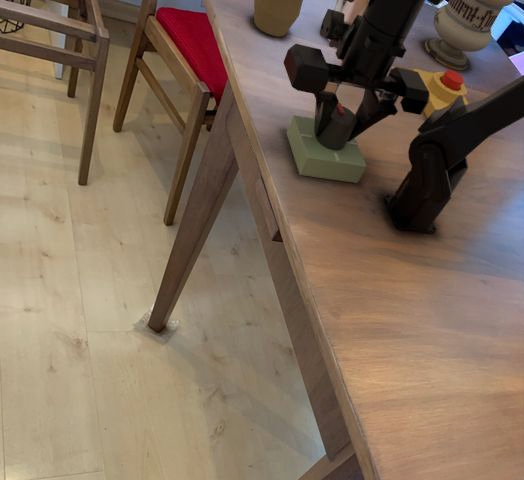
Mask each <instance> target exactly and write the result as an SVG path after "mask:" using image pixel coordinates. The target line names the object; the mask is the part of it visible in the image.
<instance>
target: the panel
mask: <svg viewBox="0 0 524 480" xmlns="http://www.w3.org/2000/svg"><path fill="white" fill-rule="evenodd" d="M314 122H315V118H311V117H306V116H302V115H301V116H300V115H295V114H293V115H292V117H291V120H290V123H289V124H288V128H287V130H286V136H287V140H288V143H289V146H290V149H291V152H292V155H293V158H294V162H295V164H296V167H297V171H298V174H299V175H300V176H304V177H312V178H319V179H324V180H325V179H326V180H333V181H338V182H339V181H340V182H347V183H354V184H358V183H359V182H360V179H361V178H362V176H363V174H364V172H365V171H366V169H367V167H368V166H367V163H366V161H365V158H364V156H363V153H362V152H361V149H360V147H359V144H358V142H357V139H356V137H355V138H354V139H353V140H351V141H350V142H347V143H346V145H345V147H344V148H343V149H342V150H331V149H328V148H326V147H324V146H323V145H321V144H320V143H319V142H318V140H317V139H316V136H315V134H314Z"/></svg>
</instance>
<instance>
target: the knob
mask: <svg viewBox="0 0 524 480" xmlns="http://www.w3.org/2000/svg"><path fill="white" fill-rule="evenodd" d="M355 114H356V113H354V112H353V111H352V110H350V109H349V108H347V107H346V106H344V105H342V103H341V102H338V104H337V106H336V108H335V110H334V111H333V113H332V115H331V117H330V119H329V120H328V122H327V124H326V126H325V128H324V129H323V131H322V132H321V134H320V135H319V136H318V137H317V136H316V139H317V140H318V142H319V143H320V144H321V145H323V146H324V147H326V148H328V149H331V150H342V149H343V148H344V147H345V145H346V143H347V141H348V139H349V137H350V135H351V133H352V131H353V129H354V127H355V125H356V123H357V118H356V116H355Z"/></svg>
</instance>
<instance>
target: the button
mask: <svg viewBox="0 0 524 480" xmlns="http://www.w3.org/2000/svg"><path fill="white" fill-rule="evenodd" d="M443 73H444V75H443V77H442V78H441V80H440V81H441V83H442V84H444V85H445V86H446V87H447V88H449V89H451V90H455V91H458V90H459V88H460V87H461V85H462V84H464V82H465V79H464V77H463V76H462V75H461V74H459V73H458V72H457V71H454V70H451V69H447V70H445V71H444V72H443Z"/></svg>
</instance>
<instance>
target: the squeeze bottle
mask: <svg viewBox="0 0 524 480" xmlns="http://www.w3.org/2000/svg"><path fill="white" fill-rule="evenodd" d="M303 2H304V0H253V22H254V24H255V27H257V29H259V30H260V31H261V32H263V33H265V34H266V35H270V36H273V37H283V36H285V35H286V34H287V33H288V31H289V30H290V29H291V27H292V26H293V25H294V24H295V22H296V21H297V19H298V18H299V17H300V14H301V10H302V6H303Z"/></svg>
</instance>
